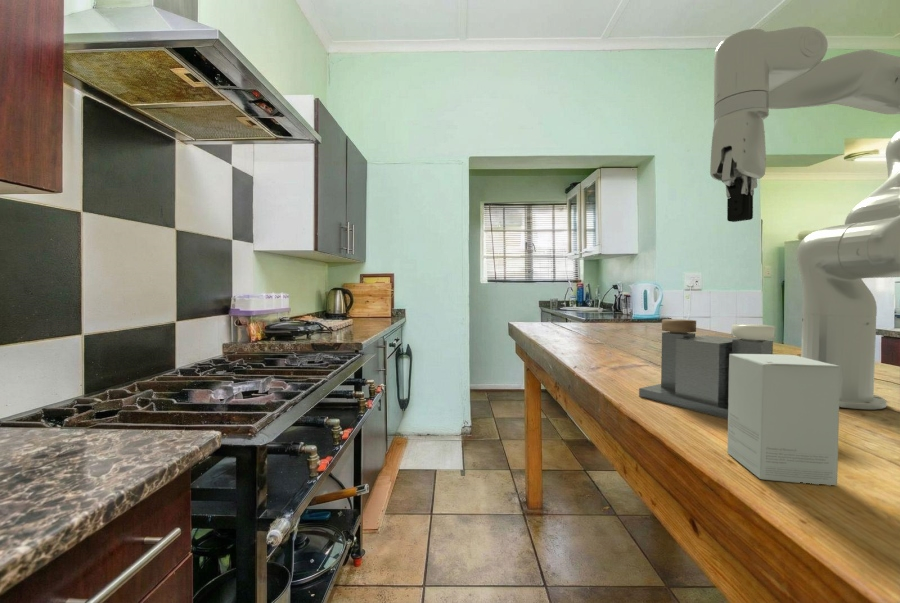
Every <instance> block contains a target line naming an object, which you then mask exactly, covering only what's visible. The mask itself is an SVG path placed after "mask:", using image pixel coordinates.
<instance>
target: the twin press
mask: <svg viewBox="0 0 900 603" xmlns="http://www.w3.org/2000/svg"><path fill="white" fill-rule="evenodd" d="M773 350H774V341H773V340H763V341H762V342H754V341H744V340H742V339H741V338H734V337H730V336H729V337H726V336H718V335H714V336H713V335H700V336H696V332H687V334H674V333H670V332H669V331H663V332H661V361H660V362H661V367H660V368H661V370H660V371H661V372H660V373H661V374H660V377H661V378H660V380H661V381H660V383H659V384H654V385H649V386H645V387H639V388H638V397H641V398H645V399H649V400H653V401H656V402H661V403H664V404H668V405H671V406H674V407H675V406H676V407H680V408H683V409H687V410H689V411H690V410H691V411H694V412H698V413H703V414H706V415H710V416H714V417H718V418H721V419H725V420H728V396H729V354H773V353H774V351H773Z"/></svg>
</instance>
